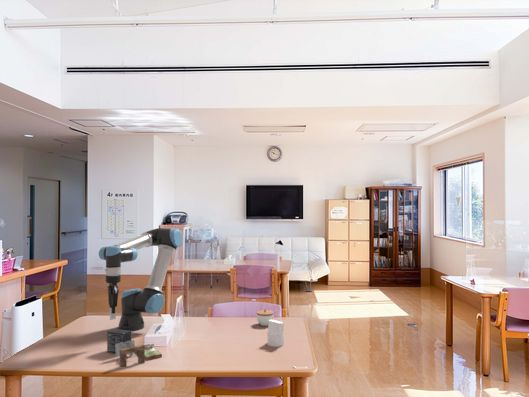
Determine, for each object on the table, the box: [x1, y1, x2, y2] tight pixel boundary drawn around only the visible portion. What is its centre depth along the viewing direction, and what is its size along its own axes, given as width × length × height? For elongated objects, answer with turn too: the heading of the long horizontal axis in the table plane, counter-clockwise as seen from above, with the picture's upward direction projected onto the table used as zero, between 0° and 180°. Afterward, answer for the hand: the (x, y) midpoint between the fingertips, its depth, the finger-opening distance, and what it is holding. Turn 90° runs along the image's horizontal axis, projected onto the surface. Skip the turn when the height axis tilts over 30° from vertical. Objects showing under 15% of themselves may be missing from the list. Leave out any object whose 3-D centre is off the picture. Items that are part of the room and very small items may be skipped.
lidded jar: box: [256, 308, 275, 327], centre depth 263 cm, size 11×11×9 cm
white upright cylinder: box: [267, 319, 285, 347], centre depth 227 cm, size 9×9×12 cm
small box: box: [106, 328, 132, 354], centre depth 215 cm, size 11×6×10 cm, turn 71°
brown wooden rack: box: [114, 339, 155, 358], centre depth 206 cm, size 19×10×6 cm, turn 125°
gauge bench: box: [119, 343, 163, 369], centre depth 208 cm, size 20×20×8 cm
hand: (112, 319), depth 225 cm, fingers closed
